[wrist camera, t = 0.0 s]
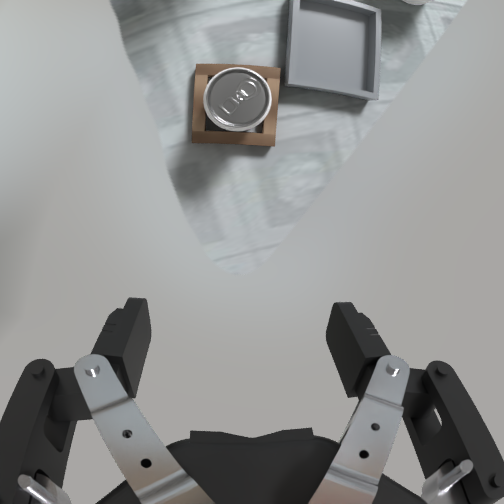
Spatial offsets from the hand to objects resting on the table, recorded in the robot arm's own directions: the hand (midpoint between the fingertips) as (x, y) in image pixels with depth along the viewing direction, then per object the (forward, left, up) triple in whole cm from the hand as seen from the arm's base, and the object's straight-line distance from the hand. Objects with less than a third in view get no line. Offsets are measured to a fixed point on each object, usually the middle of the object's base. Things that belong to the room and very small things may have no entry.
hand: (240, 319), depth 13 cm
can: (-10, 0, -30) cm, 31 cm away
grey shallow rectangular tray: (-20, +12, -29) cm, 37 cm away
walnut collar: (-10, 0, -29) cm, 31 cm away
